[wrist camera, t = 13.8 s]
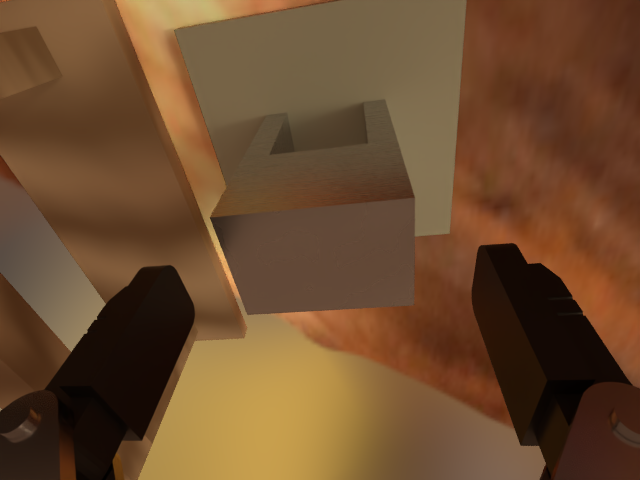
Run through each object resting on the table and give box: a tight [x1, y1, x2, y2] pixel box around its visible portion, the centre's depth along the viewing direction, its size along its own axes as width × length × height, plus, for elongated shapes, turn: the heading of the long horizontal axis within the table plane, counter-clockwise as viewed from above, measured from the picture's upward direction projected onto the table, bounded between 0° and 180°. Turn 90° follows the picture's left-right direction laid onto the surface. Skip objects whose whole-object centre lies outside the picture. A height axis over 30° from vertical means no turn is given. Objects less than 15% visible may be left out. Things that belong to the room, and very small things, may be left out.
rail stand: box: [0, 0, 247, 480], centre depth 18 cm, size 22×9×11 cm, turn 9°
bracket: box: [210, 99, 415, 315], centre depth 15 cm, size 4×6×9 cm
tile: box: [174, 0, 467, 236], centre depth 18 cm, size 12×12×1 cm
